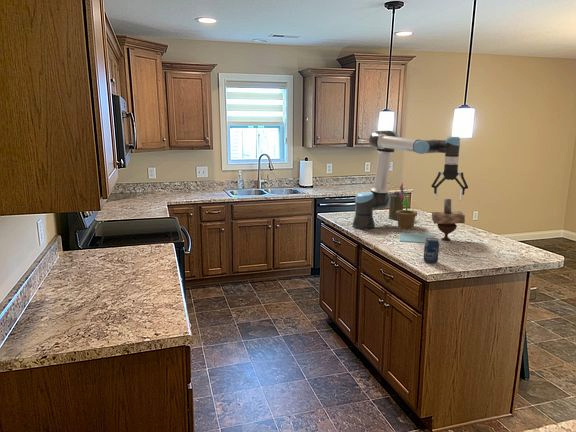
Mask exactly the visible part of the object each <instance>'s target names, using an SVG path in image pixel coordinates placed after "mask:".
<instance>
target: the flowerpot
mask: <svg viewBox="0 0 576 432" xmlns="http://www.w3.org/2000/svg"><path fill="white" fill-rule="evenodd" d="M399 190H400V191H399V192H400V193H399V195H400V201H401V199H402V198H403V195H404V198H405V200H403V203H402V204H403V206H405V209H403V210H398V211H396V215H397V218H398V220H397V226H398V228H401V229H412V228H414V225H415V221H416V217H417V216H418V211H415V210H408V208H409V207H410V204H408V197H407V195H406V192H404V183H403V182H401V185H400V187H399Z"/></svg>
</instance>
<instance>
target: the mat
mask: <svg viewBox="0 0 576 432" xmlns="http://www.w3.org/2000/svg"><path fill="white" fill-rule="evenodd" d="M426 238H435V237H434V235H433V234H431V233H430V234H427V233H425V234H424V233H412V232H411V233H409V232H408V233H407V232H399V242H402V243H403V242H404V243H405V242H406V243H420V244H421V243H422V244H425V241H426Z"/></svg>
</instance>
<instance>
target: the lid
mask: <svg viewBox="0 0 576 432" xmlns="http://www.w3.org/2000/svg"><path fill="white" fill-rule="evenodd" d="M431 220H432V222H433V224H434V225H435V224H436V225H437V224H448V223H455V224H465V222H466V221H465V220H466V215H465V214H464V213H463V212H462V211H452V198H445V199H444V200H443V211H431Z"/></svg>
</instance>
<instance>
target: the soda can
mask: <svg viewBox="0 0 576 432" xmlns="http://www.w3.org/2000/svg"><path fill="white" fill-rule="evenodd" d="M423 244H424V246H423V247H424V248H423V261H424V263H425V264H428V265H429V264H430V265H435V264H437V263H438V261H439V251H440V250H439V249H440V242H439V239H438V238H435V237H434V238H426V241H425V243H423Z"/></svg>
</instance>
